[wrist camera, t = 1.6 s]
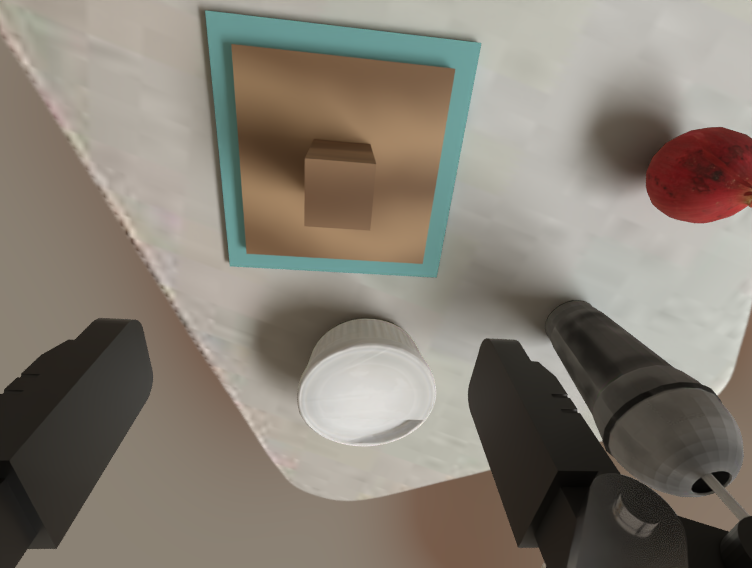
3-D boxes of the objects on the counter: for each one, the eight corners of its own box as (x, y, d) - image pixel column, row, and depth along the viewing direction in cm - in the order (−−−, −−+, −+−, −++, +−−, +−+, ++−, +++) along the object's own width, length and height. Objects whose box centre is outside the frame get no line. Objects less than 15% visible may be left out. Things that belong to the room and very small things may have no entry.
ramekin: (341, 417, 39) (340, 464, 34) (277, 339, 34) (267, 382, 29) (444, 375, 37) (457, 418, 32) (393, 285, 32) (401, 322, 27)
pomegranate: (603, 177, 28) (687, 213, 21) (668, 103, 26) (784, 116, 19) (654, 216, 30) (746, 260, 23) (718, 149, 28) (841, 177, 21)
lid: (234, 44, 23) (194, 36, 17) (452, 68, 24) (486, 68, 18) (249, 249, 29) (223, 296, 23) (420, 259, 30) (438, 306, 24)
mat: (208, 11, 22) (205, 10, 22) (478, 43, 24) (481, 43, 23) (231, 263, 30) (230, 266, 29) (435, 274, 31) (436, 277, 31)
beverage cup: (550, 366, 37) (729, 631, 20) (515, 317, 34) (691, 580, 17) (622, 326, 35) (892, 579, 18) (592, 270, 32) (883, 510, 15)
